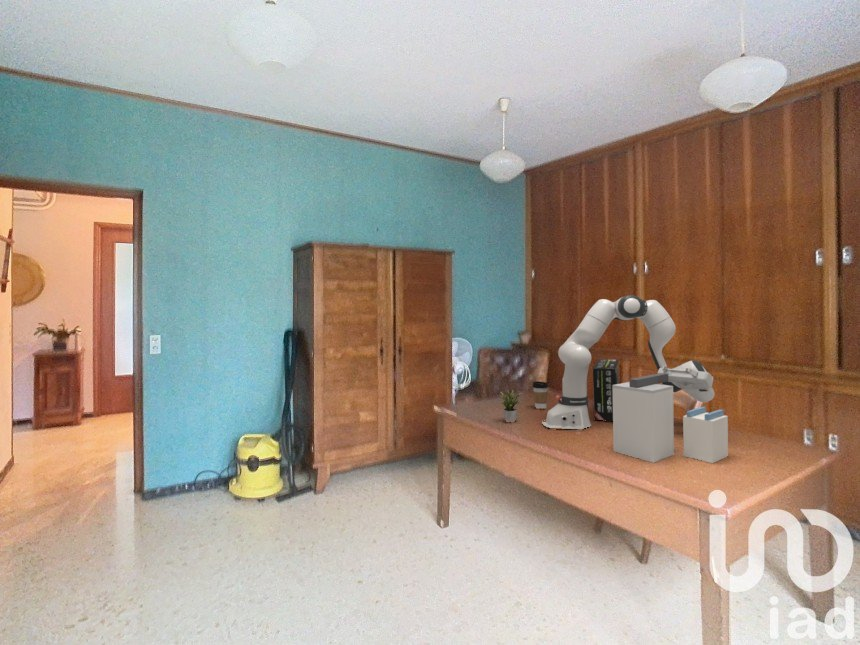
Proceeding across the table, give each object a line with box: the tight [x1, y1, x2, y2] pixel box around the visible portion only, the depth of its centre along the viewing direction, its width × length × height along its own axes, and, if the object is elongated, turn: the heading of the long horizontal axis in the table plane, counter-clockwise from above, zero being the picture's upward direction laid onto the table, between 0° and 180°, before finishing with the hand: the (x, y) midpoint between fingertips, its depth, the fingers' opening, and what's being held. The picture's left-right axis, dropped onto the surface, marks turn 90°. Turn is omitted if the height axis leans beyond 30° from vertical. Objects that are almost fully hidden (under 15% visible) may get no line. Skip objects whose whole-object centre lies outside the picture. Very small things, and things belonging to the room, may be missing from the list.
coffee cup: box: [532, 380, 549, 409], centre depth 249 cm, size 8×8×15 cm
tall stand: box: [612, 381, 675, 463], centre depth 171 cm, size 14×16×26 cm
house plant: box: [498, 389, 524, 421], centre depth 222 cm, size 14×14×16 cm
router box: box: [592, 358, 620, 422], centre depth 234 cm, size 36×11×27 cm, turn 156°
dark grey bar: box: [628, 372, 669, 388], centre depth 174 cm, size 22×3×3 cm, turn 124°
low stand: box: [682, 406, 729, 464], centre depth 166 cm, size 12×10×17 cm
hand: (675, 368), depth 184 cm, fingers open, 8 cm apart
